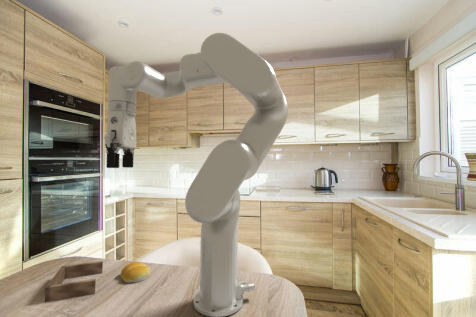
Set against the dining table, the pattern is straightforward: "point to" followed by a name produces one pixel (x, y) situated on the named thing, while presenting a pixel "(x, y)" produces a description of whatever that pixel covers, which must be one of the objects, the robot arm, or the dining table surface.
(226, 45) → the robot arm
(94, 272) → the brown u-shaped frame
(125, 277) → the bread roll
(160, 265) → the dining table surface
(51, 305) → the dining table surface
